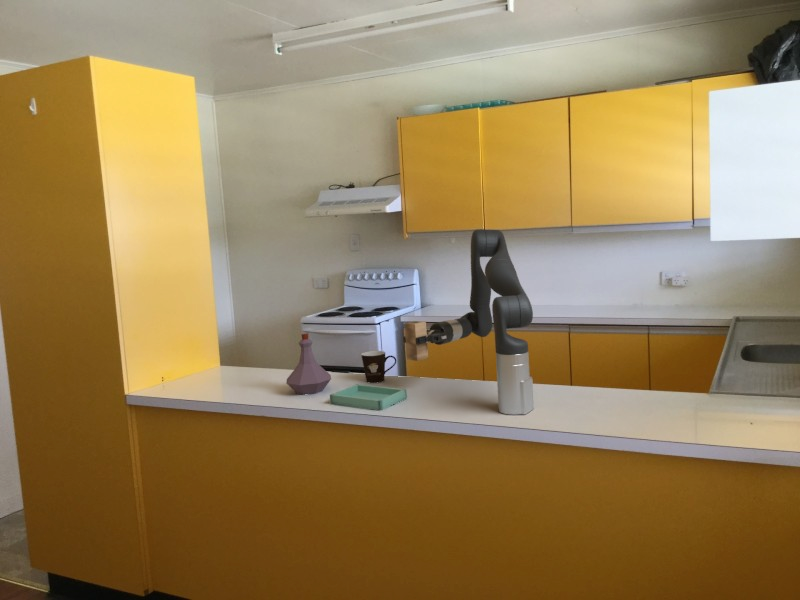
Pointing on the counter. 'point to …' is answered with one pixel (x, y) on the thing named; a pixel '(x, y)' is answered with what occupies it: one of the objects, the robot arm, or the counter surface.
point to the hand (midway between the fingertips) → (410, 340)
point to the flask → (308, 371)
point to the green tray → (368, 397)
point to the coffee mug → (375, 365)
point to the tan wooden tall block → (411, 333)
